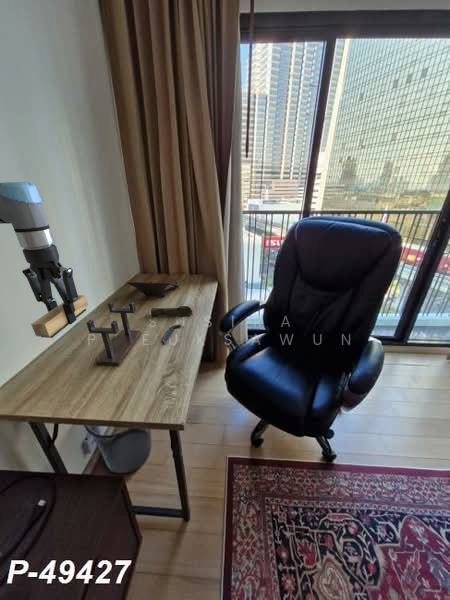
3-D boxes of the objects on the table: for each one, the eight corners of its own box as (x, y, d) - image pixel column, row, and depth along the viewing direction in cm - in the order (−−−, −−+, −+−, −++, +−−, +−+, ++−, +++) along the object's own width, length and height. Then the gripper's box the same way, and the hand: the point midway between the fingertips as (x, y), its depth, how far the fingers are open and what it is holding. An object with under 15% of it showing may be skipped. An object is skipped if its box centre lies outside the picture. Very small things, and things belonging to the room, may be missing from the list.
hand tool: (151, 318, 117) (149, 309, 114) (153, 313, 120) (152, 305, 118) (191, 318, 116) (190, 309, 114) (192, 313, 119) (192, 305, 117)
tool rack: (94, 364, 88) (82, 326, 81) (120, 332, 106) (112, 298, 99) (121, 365, 87) (110, 327, 80) (142, 333, 105) (136, 299, 98)
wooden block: (37, 339, 69) (30, 323, 67) (77, 308, 85) (73, 295, 83) (50, 340, 69) (44, 324, 66) (89, 308, 85) (85, 295, 82)
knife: (173, 324, 110) (172, 323, 110) (181, 325, 110) (181, 324, 109) (159, 343, 98) (159, 342, 98) (169, 344, 97) (168, 343, 97)
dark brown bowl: (182, 297, 149) (182, 282, 149) (169, 297, 126) (170, 279, 126) (144, 296, 151) (145, 281, 151) (126, 295, 128) (126, 278, 128)
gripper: (77, 242, 69) (98, 316, 79) (21, 242, 71) (48, 314, 81) (59, 250, 62) (84, 329, 73) (-4, 249, 64) (30, 327, 74)
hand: (65, 321), depth 77 cm, fingers closed on wooden block, 4 cm apart
